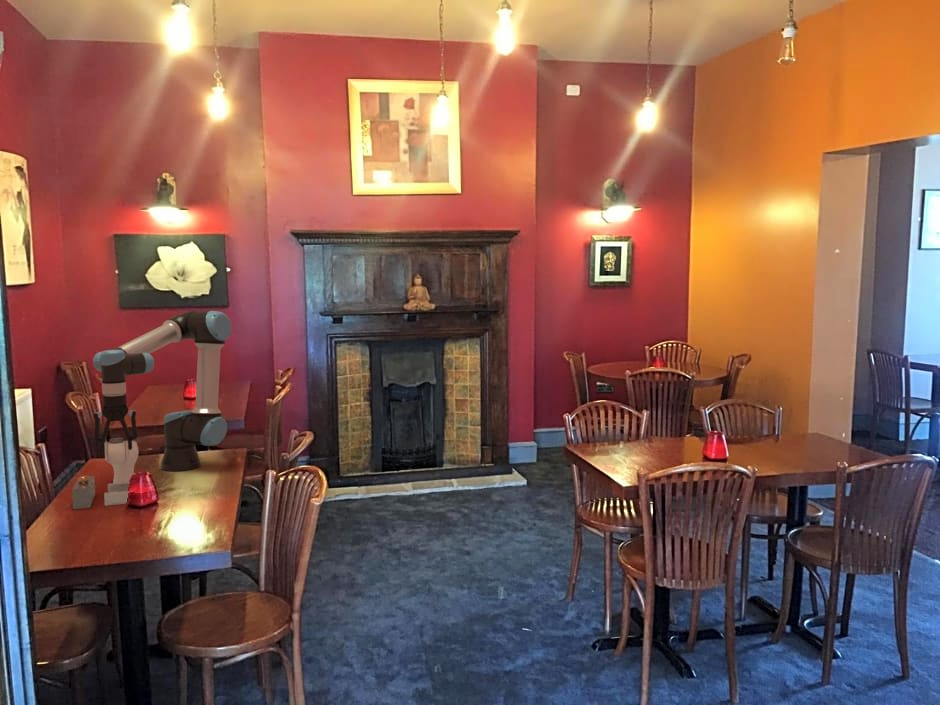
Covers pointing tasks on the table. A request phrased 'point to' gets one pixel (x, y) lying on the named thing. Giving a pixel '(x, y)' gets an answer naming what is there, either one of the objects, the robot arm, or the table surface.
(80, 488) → the motor bracket
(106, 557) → the table surface
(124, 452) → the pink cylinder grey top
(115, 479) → the cup
